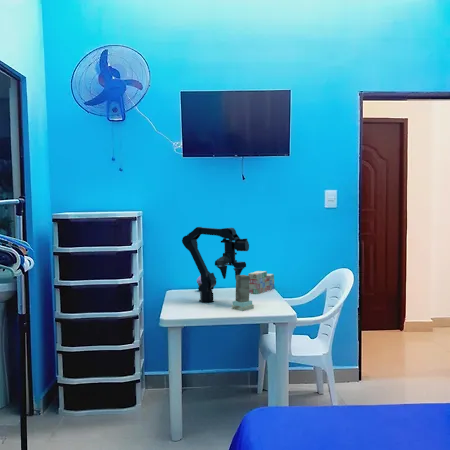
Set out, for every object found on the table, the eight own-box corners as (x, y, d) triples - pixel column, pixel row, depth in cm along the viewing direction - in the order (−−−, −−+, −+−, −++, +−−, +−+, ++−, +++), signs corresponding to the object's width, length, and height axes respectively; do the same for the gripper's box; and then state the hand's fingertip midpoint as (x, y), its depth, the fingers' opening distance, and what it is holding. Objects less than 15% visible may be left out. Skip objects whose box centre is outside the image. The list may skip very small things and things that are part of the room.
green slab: (233, 305, 238) (232, 301, 238) (242, 302, 243) (242, 299, 243) (243, 307, 233) (243, 303, 233) (252, 304, 238) (252, 300, 238)
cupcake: (201, 289, 294) (201, 273, 294) (213, 290, 290) (213, 274, 290) (194, 291, 286) (194, 275, 286) (206, 292, 282) (206, 276, 282)
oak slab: (231, 309, 238) (231, 305, 238) (242, 307, 244) (242, 302, 243) (243, 312, 232) (243, 307, 232) (253, 309, 238) (253, 304, 238)
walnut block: (235, 300, 238) (236, 275, 238) (243, 299, 241) (243, 274, 241) (241, 302, 234) (241, 276, 234) (249, 301, 237) (249, 275, 237)
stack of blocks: (265, 287, 295) (265, 268, 295) (274, 288, 292) (274, 269, 291) (248, 293, 278) (248, 273, 277) (257, 294, 274) (257, 273, 274)
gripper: (207, 251, 250) (207, 279, 251) (232, 253, 237) (232, 283, 238) (221, 249, 258) (222, 277, 259) (246, 251, 245) (247, 280, 246)
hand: (230, 279), depth 250 cm, fingers open, 9 cm apart
